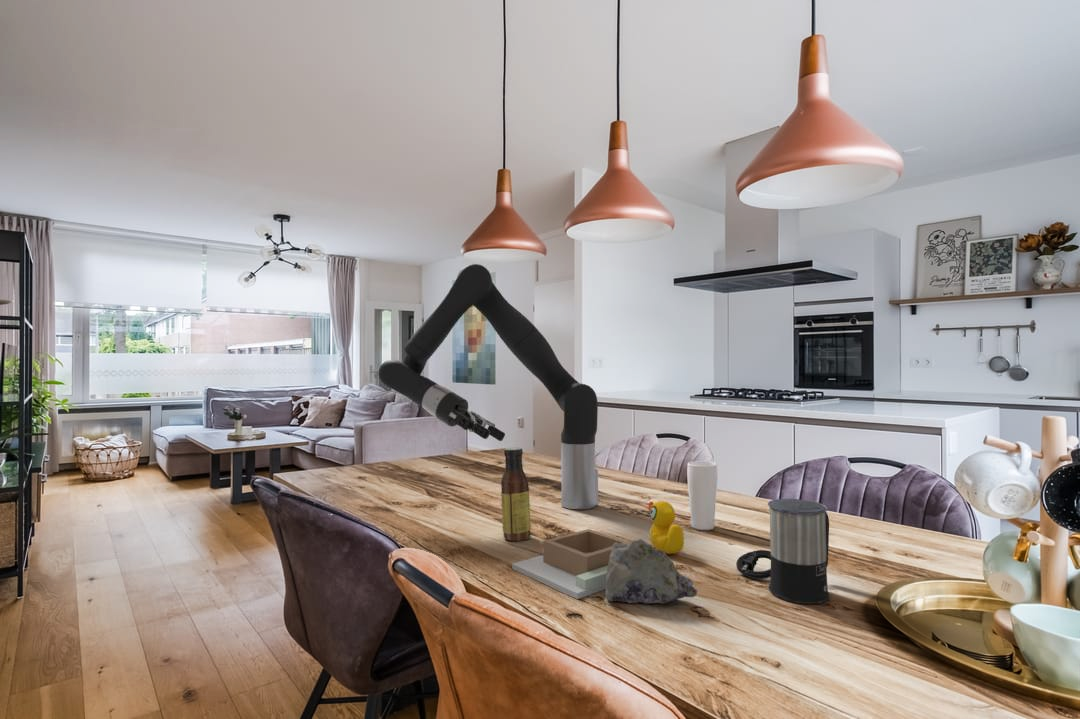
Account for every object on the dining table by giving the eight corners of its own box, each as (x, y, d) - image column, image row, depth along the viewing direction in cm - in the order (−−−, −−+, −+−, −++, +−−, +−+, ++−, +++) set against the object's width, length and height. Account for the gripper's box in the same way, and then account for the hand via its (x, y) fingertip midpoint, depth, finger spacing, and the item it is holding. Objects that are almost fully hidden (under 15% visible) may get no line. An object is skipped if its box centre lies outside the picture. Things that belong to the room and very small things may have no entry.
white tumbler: (685, 530, 131) (685, 465, 131) (689, 522, 137) (689, 460, 137) (716, 533, 128) (715, 466, 128) (719, 525, 134) (718, 462, 135)
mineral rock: (701, 606, 90) (700, 542, 90) (659, 627, 83) (658, 558, 83) (637, 582, 100) (637, 525, 100) (595, 599, 93) (594, 538, 93)
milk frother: (826, 610, 88) (825, 514, 88) (722, 589, 96) (721, 502, 96) (834, 580, 100) (833, 496, 100) (741, 564, 108) (741, 486, 108)
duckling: (639, 544, 121) (638, 497, 121) (661, 541, 123) (660, 495, 123) (667, 561, 110) (667, 510, 110) (691, 558, 112) (691, 507, 112)
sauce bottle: (534, 535, 128) (534, 446, 128) (524, 543, 122) (524, 451, 122) (507, 532, 130) (507, 445, 130) (496, 540, 124) (496, 449, 124)
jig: (595, 545, 120) (595, 521, 120) (663, 568, 106) (663, 541, 106) (512, 569, 107) (512, 542, 107) (577, 599, 93) (577, 568, 93)
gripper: (437, 387, 134) (490, 420, 128) (465, 395, 148) (514, 425, 141) (422, 415, 134) (475, 449, 128) (451, 420, 148) (500, 451, 141)
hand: (496, 436), depth 135 cm, fingers open, 8 cm apart
